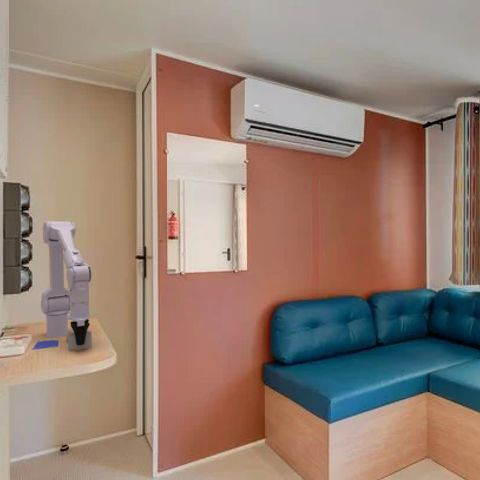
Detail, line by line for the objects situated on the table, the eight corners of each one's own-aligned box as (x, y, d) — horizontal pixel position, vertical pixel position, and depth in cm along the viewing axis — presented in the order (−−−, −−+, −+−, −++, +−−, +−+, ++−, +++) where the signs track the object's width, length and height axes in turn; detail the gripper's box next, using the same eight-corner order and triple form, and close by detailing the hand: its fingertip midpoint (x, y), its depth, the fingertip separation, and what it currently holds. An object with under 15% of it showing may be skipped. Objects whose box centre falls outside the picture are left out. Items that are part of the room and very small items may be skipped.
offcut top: (66, 340, 129) (66, 336, 129) (78, 338, 131) (78, 334, 131) (70, 342, 126) (70, 338, 126) (82, 340, 129) (82, 335, 129)
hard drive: (59, 346, 121) (61, 337, 133) (31, 349, 118) (35, 340, 130) (59, 351, 121) (61, 342, 133) (31, 354, 118) (35, 345, 130)
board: (68, 351, 119) (67, 333, 119) (91, 348, 122) (90, 330, 122) (68, 353, 116) (67, 334, 116) (91, 350, 119) (91, 332, 120)
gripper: (65, 300, 124) (66, 340, 124) (66, 306, 111) (67, 351, 111) (88, 298, 127) (88, 337, 127) (91, 304, 114) (92, 348, 114)
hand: (80, 343), depth 119 cm, fingers closed on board, 2 cm apart
